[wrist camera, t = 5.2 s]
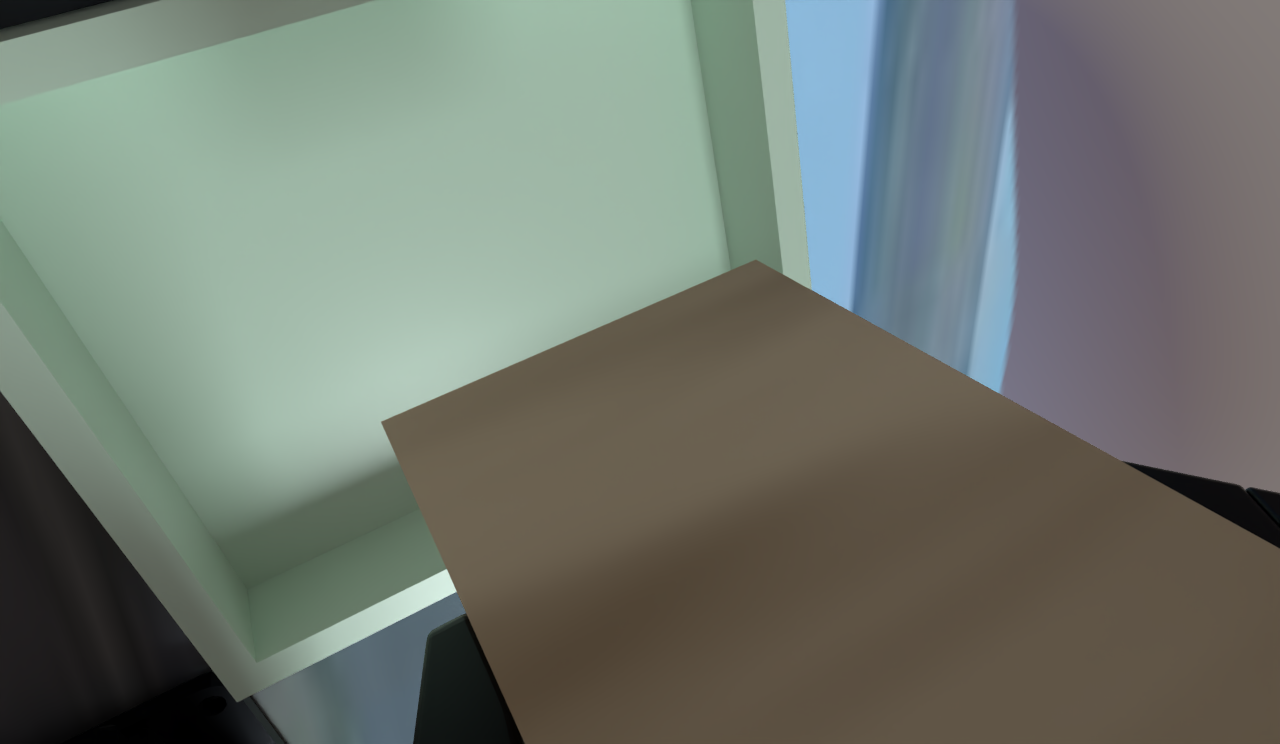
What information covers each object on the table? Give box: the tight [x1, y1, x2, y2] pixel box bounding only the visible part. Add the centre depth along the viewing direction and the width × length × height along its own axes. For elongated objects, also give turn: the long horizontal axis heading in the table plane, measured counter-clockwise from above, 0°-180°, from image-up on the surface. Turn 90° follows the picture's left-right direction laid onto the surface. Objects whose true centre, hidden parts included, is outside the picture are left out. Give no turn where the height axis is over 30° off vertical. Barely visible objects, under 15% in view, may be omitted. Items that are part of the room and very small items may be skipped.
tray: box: [0, 0, 812, 702], centre depth 14 cm, size 10×12×2 cm
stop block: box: [381, 260, 1280, 744], centre depth 7 cm, size 4×4×6 cm
